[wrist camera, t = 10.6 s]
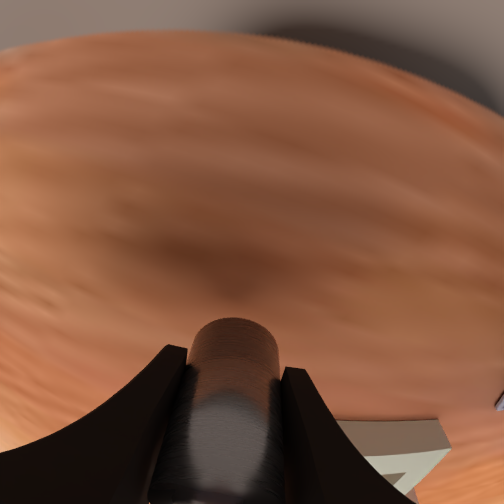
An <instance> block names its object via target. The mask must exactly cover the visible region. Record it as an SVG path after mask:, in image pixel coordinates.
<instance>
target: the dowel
mask: <svg viewBox="0 0 504 504" xmlns="http://www.w3.org/2000/svg"><path fill="white" fill-rule="evenodd" d="M147 498H148V501H149V502H150V504H286V501H285V472H284V447H283V424H282V404H281V384H280V366H279V350H278V345H277V343H276V340H275V339H274V337H273V336H272V334H271V333H270V332H269V331H268V330H267V329H265V328H264V327H263V326H261V325H260V324H258V323H255V322H253V321H250V320H247V319H243V318H223V319H218V320H215V321H213V322H211V323H209V324H207V325H205V326H204V327H203V328H202V329H201V330H200V331H199V332H198V333H197V335H196V336H195V339H194V341H193V344H192V348H191V351H190V354H189V357H188V360H187V363H186V367H185V370H184V373H183V376H182V380H181V383H180V386H179V389H178V392H177V395H176V398H175V402H174V405H173V408H172V411H171V415H170V418H169V421H168V425H167V428H166V431H165V435H164V438H163V441H162V445H161V448H160V451H159V455H158V458H157V462H156V465H155V469H154V472H153V476H152V479H151V483H150V486H149V490H148V493H147Z"/></svg>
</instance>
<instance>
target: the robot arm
mask: <svg viewBox="0 0 504 504" xmlns="http://www.w3.org/2000/svg"><path fill="white" fill-rule="evenodd" d="M187 350H188V349H187V348H182V347H178V346H174V345H169V344H168V345H166V346H164V348H163V349H162V350H161V351H160V352H159V353H158V354H157V356H156V357H155V358H154V359H153V360H152V361H151V362H150V363H149V364H148V365H147V366H146V367H145V368H144V369H143V370H142V371H141V372H140V373H139V374H138V375H137V376H135V377H134V378H133V379H132V380H131V381H130V382H129V383H128V384H127V385H126V386H124V387H123V388H122V389H121V390H119V391H118V392H117V393H116V394H114V395H113V396H112V397H111V398H109V399H108V400H107V401H106V402H104V403H103V404H101V405H100V406H99V407H97V408H96V409H94V410H93V411H91V412H90V413H88V414H87V415H85V416H84V417H82V418H80V419H79V420H77V421H75V422H73V423H72V424H70V425H68V426H66V427H65V428H63V429H61V430H59V431H57V432H55V433H53V434H51V435H49V436H46V437H44V438H41V439H39V440H37V441H34V442H32V443H29V444H27V445H24V446H21V447H18V448H16V449H12V450H9V451H5V452H1V453H0V504H149V501H148V498H147V493H148V490H149V486H150V483H151V479H152V476H153V472H154V469H155V465H156V462H157V458H158V455H159V451H160V448H161V445H162V441H163V438H164V435H165V431H166V428H167V425H168V421H169V418H170V415H171V411H172V408H173V405H174V402H175V398H176V395H177V392H178V389H179V386H180V383H181V380H182V376H183V373H184V370H185V367H186V360H187ZM280 384H281V404H282V424H283V447H284V472H285V501H286V504H416V503H415V502H413V501H412V500H410V499H409V498H408V497H406V496H405V495H404V494H403V493H401V492H400V491H399V490H398V489H396V488H395V487H394V486H393V485H392V484H391V483H390V482H388V481H387V480H386V479H385V478H384V477H383V476H382V475H381V474H380V473H379V472H378V471H377V470H376V469H375V468H374V467H373V466H372V465H371V464H370V463H369V462H368V461H367V460H366V459H365V458H364V457H363V456H362V454H361V453H360V452H359V451H358V450H357V448H356V447H355V446H354V445H353V443H352V442H351V441H350V440H349V438H348V437H347V436H346V434H345V433H344V431H343V430H342V429H341V427H340V426H339V424H338V423H337V421H336V420H335V418H334V417H333V415H332V414H331V412H330V411H329V409H328V408H327V406H326V404H325V403H324V401H323V399H322V398H321V396H320V394H319V393H318V391H317V389H316V387H315V386H314V384H313V382H312V380H311V378H310V377H309V375H308V373H307V372H306V370H305V369H300V368H292V367H285V370H284V373H283V376H282V379H281V381H280ZM495 408H496V410H497V411H501V410H504V395H503V396H502V397H501V399H500V400H499V402H498V403H497V404H496V406H495Z"/></svg>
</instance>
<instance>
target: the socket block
mask: <svg viewBox="0 0 504 504" xmlns="http://www.w3.org/2000/svg"><path fill="white" fill-rule="evenodd" d="M336 421H337V423H338V424H339V426H340V427H341V429H342V430H343V431H344V433H345V434H346V436H347V437H348V438H349V440H350V441H351V442H352V443H353V445H354V446H355V447H356V448H357V450H358V451H359V452H360V453H361V454H362V456H363V457H364V458H365V459H366V460H367V461H368V462H369V463H370V464H371V465H372V466H373V467H374V468H375V469H376V470H377V471H378V472H379V473H380V474H381V475H382V476H383V477H384V478H385V479H386V480H387V481H388V482H390V483H391V484H392V485H393V486H394V487H395V488H396V489H398V490H399V491H400V492H401V493H403V494H404V495H406V494H407V493H408V492H409V491H410V490H411V489H412V488H413V487H414V486H415V485H416V484H418V483H419V482H420V481H421V480H422V479H423V478H424V477H425V476H426V475H427V474H428V473H429V472H430V471H431V470H432V469H433V468H434V467H435V466H436V465H437V464H438V463H439V462H440V461H441V460H442V459H443V457H444V456H445V455H446V454H447V453H448V452H449V451H450V450H451V449H452V447H451V445H450V443H449V440H448V438H447V436H446V434H445V432H444V430H443V428H442V426H441V424H440V422H439V420H438V419H435V420H418V421H341V420H336Z"/></svg>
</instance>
